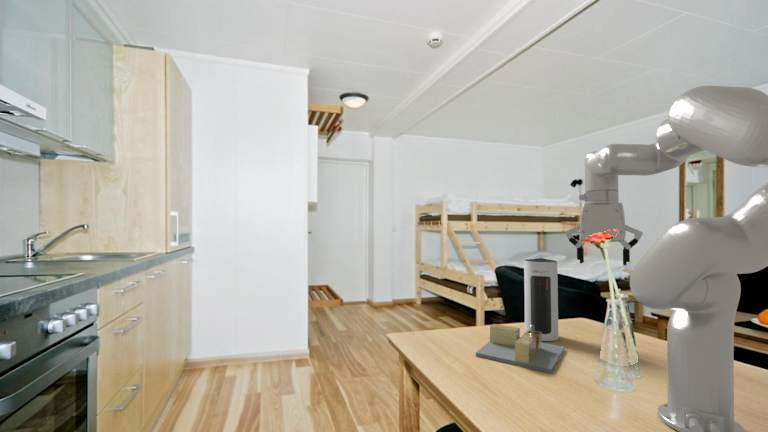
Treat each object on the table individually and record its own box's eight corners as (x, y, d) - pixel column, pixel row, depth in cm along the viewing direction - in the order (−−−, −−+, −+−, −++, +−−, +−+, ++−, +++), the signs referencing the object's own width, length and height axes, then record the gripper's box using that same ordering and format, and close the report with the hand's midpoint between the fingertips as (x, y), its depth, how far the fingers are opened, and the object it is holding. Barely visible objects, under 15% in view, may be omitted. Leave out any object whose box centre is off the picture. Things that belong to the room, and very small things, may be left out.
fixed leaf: (537, 352, 104) (537, 327, 104) (489, 342, 112) (489, 320, 112) (540, 348, 107) (540, 324, 107) (493, 339, 115) (493, 317, 115)
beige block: (529, 364, 95) (529, 345, 95) (514, 360, 98) (514, 342, 98) (542, 349, 107) (542, 331, 107) (527, 346, 109) (527, 329, 109)
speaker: (520, 337, 120) (519, 259, 121) (529, 330, 129) (528, 256, 129) (554, 344, 114) (554, 261, 114) (561, 336, 122) (561, 258, 123)
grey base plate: (551, 373, 92) (551, 369, 92) (475, 356, 104) (475, 352, 104) (564, 350, 109) (564, 346, 109) (497, 337, 120) (497, 334, 120)
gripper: (563, 198, 97) (564, 263, 96) (642, 195, 87) (644, 267, 87) (566, 200, 103) (567, 261, 102) (641, 198, 94) (642, 264, 93)
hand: (602, 263), depth 95 cm, fingers open, 9 cm apart
